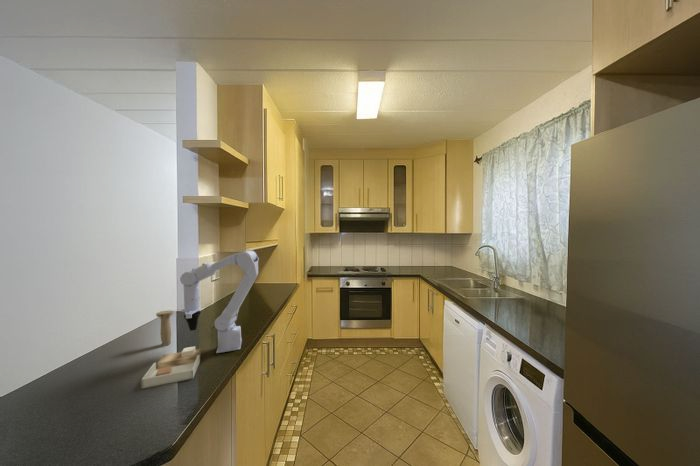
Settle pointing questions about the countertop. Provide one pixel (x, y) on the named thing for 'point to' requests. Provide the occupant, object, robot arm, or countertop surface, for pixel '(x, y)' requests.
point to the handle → (165, 326)
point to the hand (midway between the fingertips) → (193, 329)
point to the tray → (177, 374)
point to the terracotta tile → (164, 371)
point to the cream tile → (188, 351)
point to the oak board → (177, 359)
